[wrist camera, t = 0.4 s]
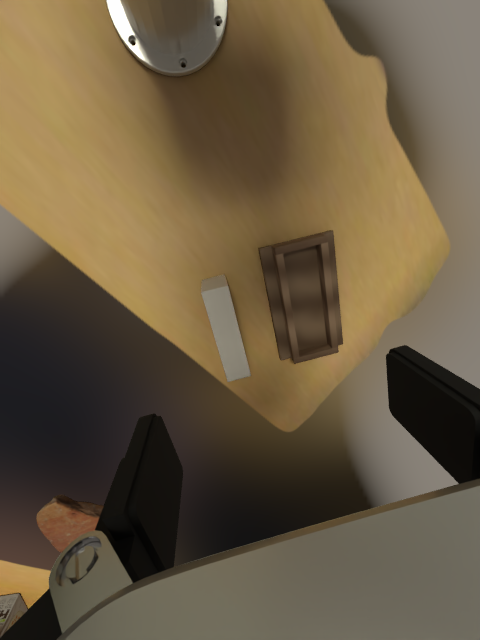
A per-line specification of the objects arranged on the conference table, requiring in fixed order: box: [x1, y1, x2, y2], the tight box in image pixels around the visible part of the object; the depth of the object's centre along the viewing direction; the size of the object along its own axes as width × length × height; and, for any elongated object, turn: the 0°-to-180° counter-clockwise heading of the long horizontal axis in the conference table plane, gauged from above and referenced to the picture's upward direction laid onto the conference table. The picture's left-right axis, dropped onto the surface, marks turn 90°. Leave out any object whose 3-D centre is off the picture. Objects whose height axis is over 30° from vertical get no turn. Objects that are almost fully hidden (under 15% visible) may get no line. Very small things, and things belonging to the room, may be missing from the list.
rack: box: [258, 230, 343, 364], centre depth 43 cm, size 19×11×3 cm, turn 13°
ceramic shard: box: [37, 495, 104, 552], centre depth 54 cm, size 15×6×15 cm
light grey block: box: [201, 274, 251, 382], centre depth 40 cm, size 14×4×7 cm, turn 13°
